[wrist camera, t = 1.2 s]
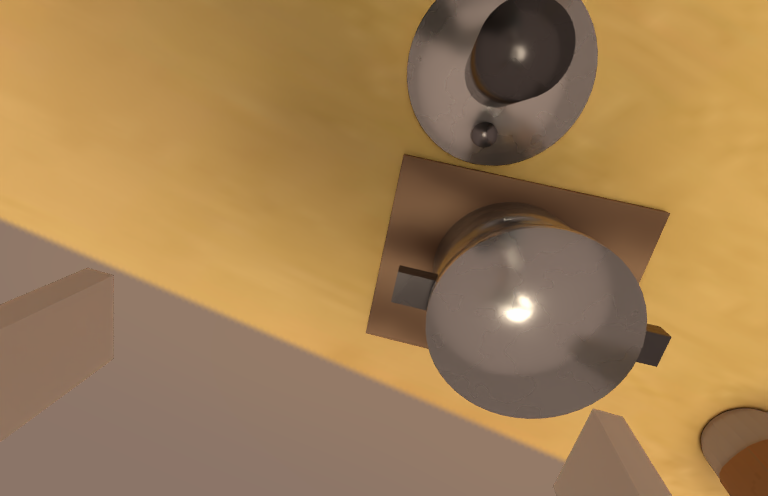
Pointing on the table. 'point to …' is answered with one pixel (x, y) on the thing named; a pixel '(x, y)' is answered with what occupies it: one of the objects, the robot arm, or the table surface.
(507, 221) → the cooker pot
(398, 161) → the table surface
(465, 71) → the lid
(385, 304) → the walnut board
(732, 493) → the coffee cup
